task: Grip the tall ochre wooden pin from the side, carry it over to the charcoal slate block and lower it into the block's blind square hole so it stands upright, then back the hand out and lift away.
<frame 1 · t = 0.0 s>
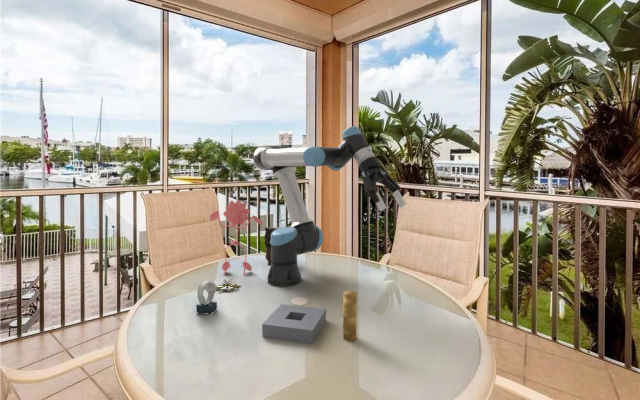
hand: (393, 207, 133), 36 cm above the table, tool tilted 35°, fingers open, 13 cm apart
figurine: (238, 271, 175), on the table
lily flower: (227, 290, 151), on the table
hole block: (295, 328, 115), on the table
ochre pin: (349, 338, 108), on the table
owl: (280, 263, 188), on the table
watch: (207, 312, 128), on the table
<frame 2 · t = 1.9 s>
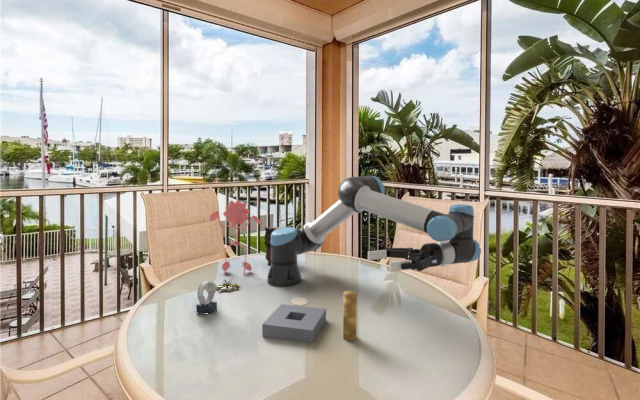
hand: (378, 261, 109), 23 cm above the table, tool horizontal, fingers open, 13 cm apart
nothing on the table moved.
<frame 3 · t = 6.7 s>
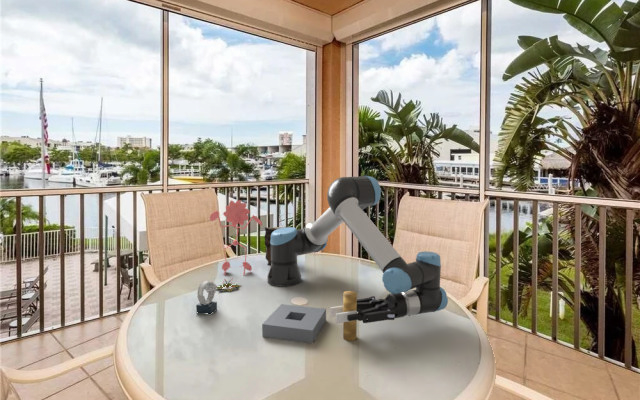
hand: (333, 315, 105), 8 cm above the table, tool horizontal, fingers closed on ochre pin, 4 cm apart
ochre pin: (349, 338, 108), on the table, touching gripper
everything else where it was.
when the fingers open (9 cm above the table, at t = 12.0 s): ochre pin stays where it is, resting on hole block.
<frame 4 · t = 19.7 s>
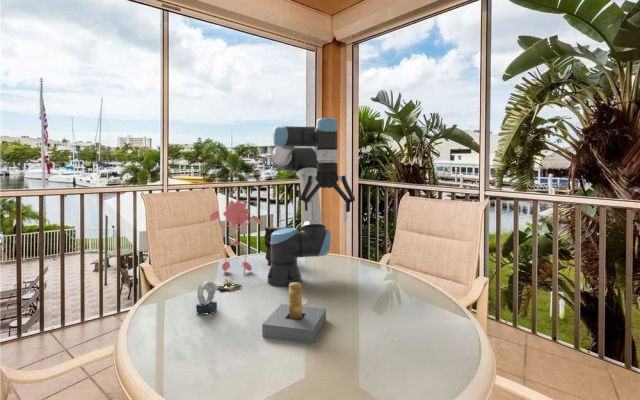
hand: (327, 220, 131), 32 cm above the table, tool pointing down, fingers open, 13 cm apart
ochre pin: (295, 326, 115), resting on hole block
everything else where it was.
at the end: ochre pin 0.0 cm off-centre on the hole block, point 0.5 cm above the hole block's base; ochre pin tilted 0°; the gripper is holding nothing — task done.
